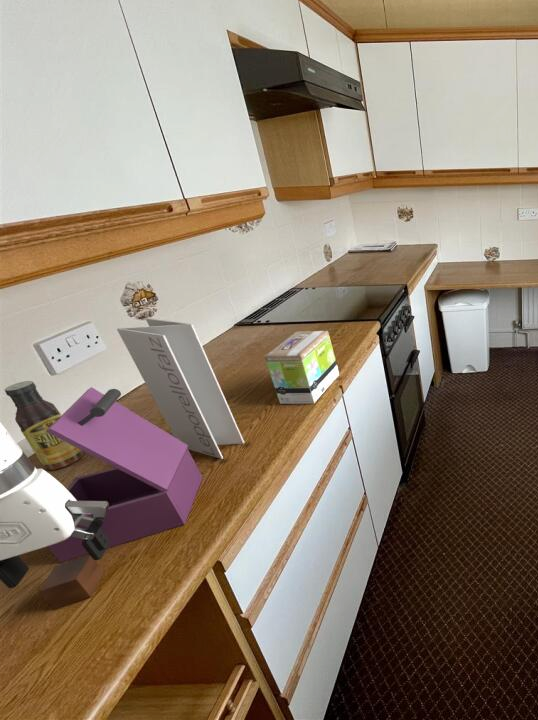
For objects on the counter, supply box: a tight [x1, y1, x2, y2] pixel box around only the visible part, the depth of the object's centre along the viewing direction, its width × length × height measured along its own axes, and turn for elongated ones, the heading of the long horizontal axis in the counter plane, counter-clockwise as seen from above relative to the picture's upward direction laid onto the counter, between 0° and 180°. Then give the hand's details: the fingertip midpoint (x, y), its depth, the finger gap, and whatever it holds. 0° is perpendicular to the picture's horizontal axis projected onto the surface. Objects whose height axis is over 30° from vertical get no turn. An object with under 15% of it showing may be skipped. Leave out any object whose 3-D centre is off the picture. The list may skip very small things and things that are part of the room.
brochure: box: [116, 317, 245, 460], centre depth 87 cm, size 14×6×30 cm, turn 70°
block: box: [37, 554, 105, 611], centre depth 62 cm, size 4×4×4 cm
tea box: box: [264, 330, 340, 405], centre depth 110 cm, size 15×10×15 cm
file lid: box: [46, 386, 188, 492], centre depth 70 cm, size 18×13×5 cm
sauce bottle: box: [4, 380, 83, 471], centre depth 87 cm, size 6×6×20 cm
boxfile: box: [47, 449, 203, 564], centre depth 74 cm, size 18×13×8 cm
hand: (62, 565), depth 60 cm, fingers open, 9 cm apart
